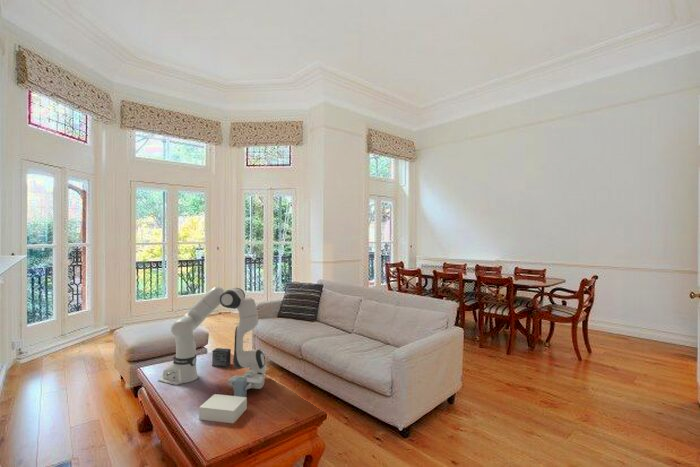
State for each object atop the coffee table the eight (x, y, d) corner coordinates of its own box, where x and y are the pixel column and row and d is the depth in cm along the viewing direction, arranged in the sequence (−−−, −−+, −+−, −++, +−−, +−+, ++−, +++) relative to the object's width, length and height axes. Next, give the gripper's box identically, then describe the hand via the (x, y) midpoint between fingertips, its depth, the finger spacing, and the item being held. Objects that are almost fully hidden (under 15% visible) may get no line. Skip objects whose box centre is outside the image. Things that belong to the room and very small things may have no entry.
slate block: (233, 399, 192) (234, 380, 192) (238, 394, 197) (238, 377, 197) (242, 399, 191) (242, 381, 191) (246, 395, 196) (246, 377, 196)
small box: (231, 363, 242) (231, 348, 242) (226, 367, 236) (227, 351, 236) (216, 362, 243) (216, 347, 243) (211, 366, 237) (212, 350, 237)
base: (198, 419, 171) (199, 407, 171) (214, 405, 184) (214, 394, 184) (233, 423, 168) (233, 410, 168) (246, 408, 182) (246, 397, 182)
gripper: (234, 371, 208) (222, 380, 195) (266, 373, 205) (257, 384, 191) (234, 381, 208) (221, 392, 195) (266, 384, 205) (256, 395, 191)
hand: (239, 388), depth 193 cm, fingers closed on slate block, 5 cm apart
